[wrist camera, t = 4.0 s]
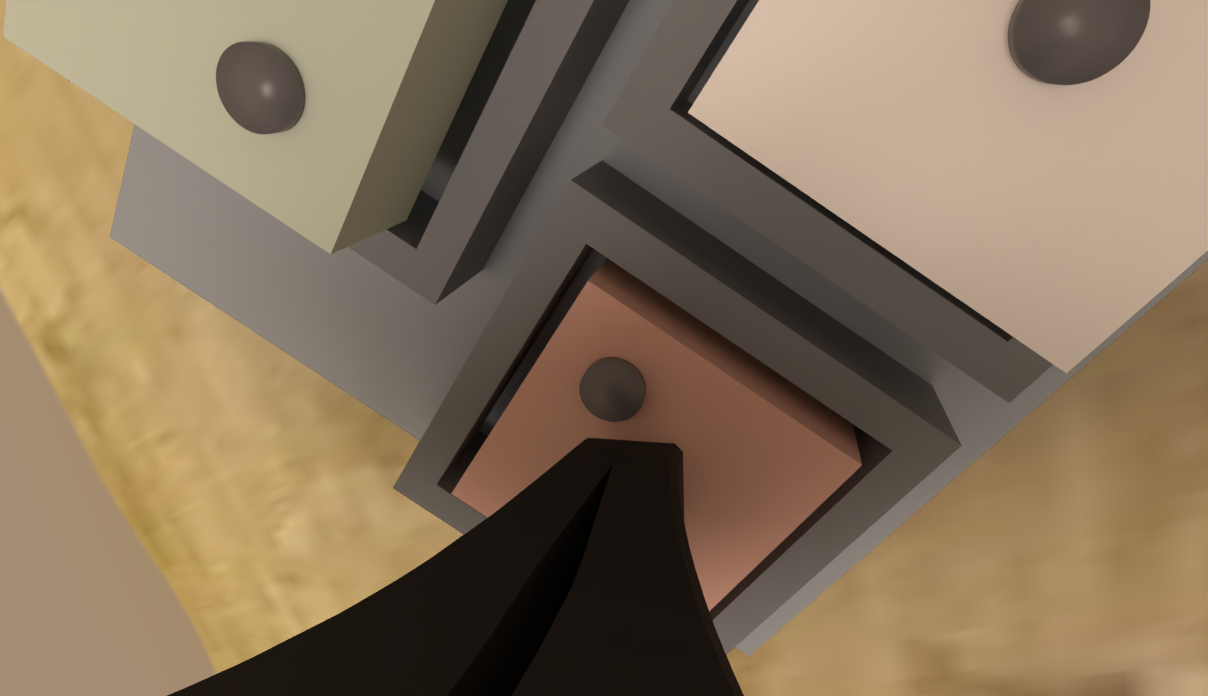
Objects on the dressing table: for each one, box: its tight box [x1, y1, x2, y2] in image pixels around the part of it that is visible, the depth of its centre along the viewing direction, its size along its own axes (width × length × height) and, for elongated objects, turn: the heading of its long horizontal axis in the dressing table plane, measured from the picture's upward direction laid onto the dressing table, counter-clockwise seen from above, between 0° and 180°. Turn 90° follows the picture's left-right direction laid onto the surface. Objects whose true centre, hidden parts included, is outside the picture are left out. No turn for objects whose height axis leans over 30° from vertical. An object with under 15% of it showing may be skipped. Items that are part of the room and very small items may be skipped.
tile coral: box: [451, 258, 862, 611], centre depth 11 cm, size 4×4×2 cm
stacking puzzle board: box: [110, 0, 1208, 656], centre depth 10 cm, size 15×14×3 cm
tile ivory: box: [688, 0, 1208, 374], centre depth 6 cm, size 4×4×2 cm
